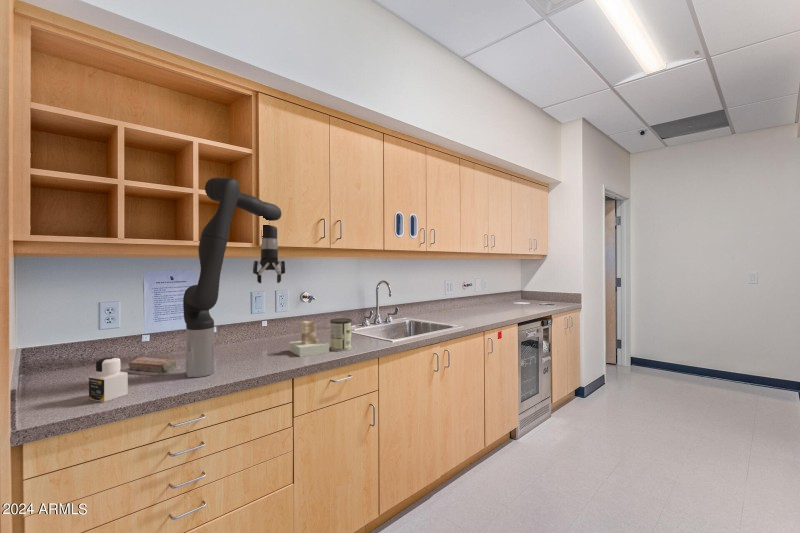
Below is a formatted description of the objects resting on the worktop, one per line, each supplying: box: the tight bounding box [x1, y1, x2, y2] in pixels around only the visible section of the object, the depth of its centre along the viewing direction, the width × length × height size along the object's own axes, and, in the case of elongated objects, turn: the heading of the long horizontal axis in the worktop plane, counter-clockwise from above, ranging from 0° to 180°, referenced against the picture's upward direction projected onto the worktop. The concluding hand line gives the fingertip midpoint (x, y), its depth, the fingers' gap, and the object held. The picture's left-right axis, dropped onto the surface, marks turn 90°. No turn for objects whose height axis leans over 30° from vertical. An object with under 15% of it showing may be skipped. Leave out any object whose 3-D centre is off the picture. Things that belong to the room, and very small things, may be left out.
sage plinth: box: [288, 338, 330, 357], centre depth 179 cm, size 14×14×4 cm
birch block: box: [301, 320, 317, 345], centre depth 179 cm, size 5×5×10 cm
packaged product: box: [121, 356, 181, 377], centre depth 148 cm, size 18×5×10 cm
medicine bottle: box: [88, 356, 129, 403], centre depth 119 cm, size 7×7×12 cm
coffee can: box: [329, 317, 353, 352], centre depth 186 cm, size 10×10×14 cm
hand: (269, 283), depth 179 cm, fingers open, 8 cm apart
